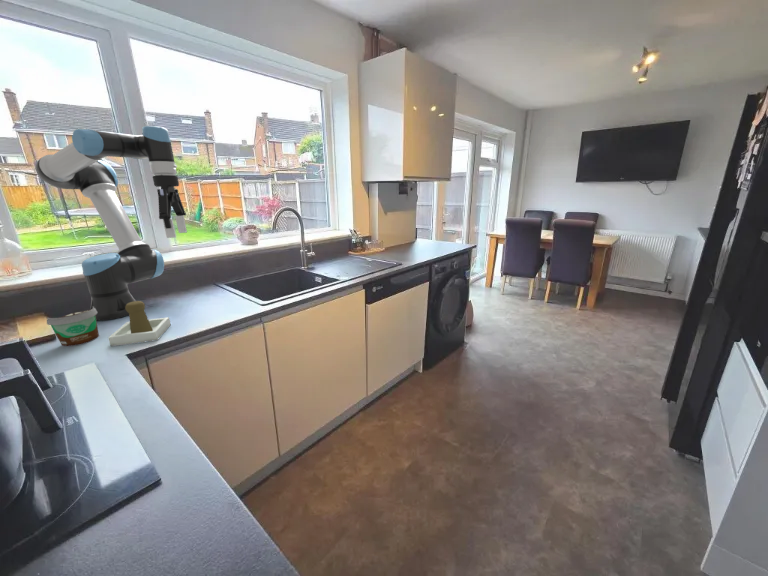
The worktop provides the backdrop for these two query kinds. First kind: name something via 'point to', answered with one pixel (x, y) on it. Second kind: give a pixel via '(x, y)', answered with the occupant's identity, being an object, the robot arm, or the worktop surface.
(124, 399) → the worktop surface
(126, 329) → the tray
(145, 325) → the pepper mill
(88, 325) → the food container
